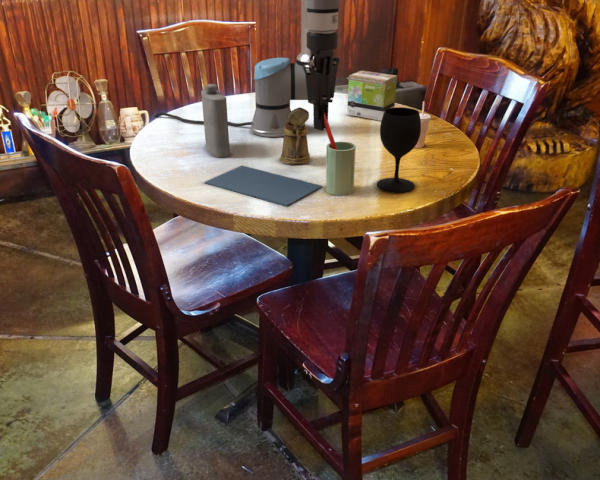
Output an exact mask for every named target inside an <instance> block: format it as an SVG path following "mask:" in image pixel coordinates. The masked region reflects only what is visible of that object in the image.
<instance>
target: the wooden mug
mask: <svg viewBox="0 0 600 480" xmlns="http://www.w3.org/2000/svg"><path fill="white" fill-rule="evenodd" d="M309 117H310V113H309V111H308V110H307V109H305V108H303V107H296V108H294V109H292V110H291V112H290V113H289V114H288V121H287V122H286V123H285V127H284V136H283V141H282V148H281V153H280V158H279V161H280V162H281V163H284V164H286V165H292V166H296V165H297V166H298V165H299V166H300V165H305V164H307V163H310V161H311V154H310V151H309V145H308V138H307V137H308V136H307V135H308V134H309V132H308V127H307V125H306V122H307V121H308V120H309Z"/></svg>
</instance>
